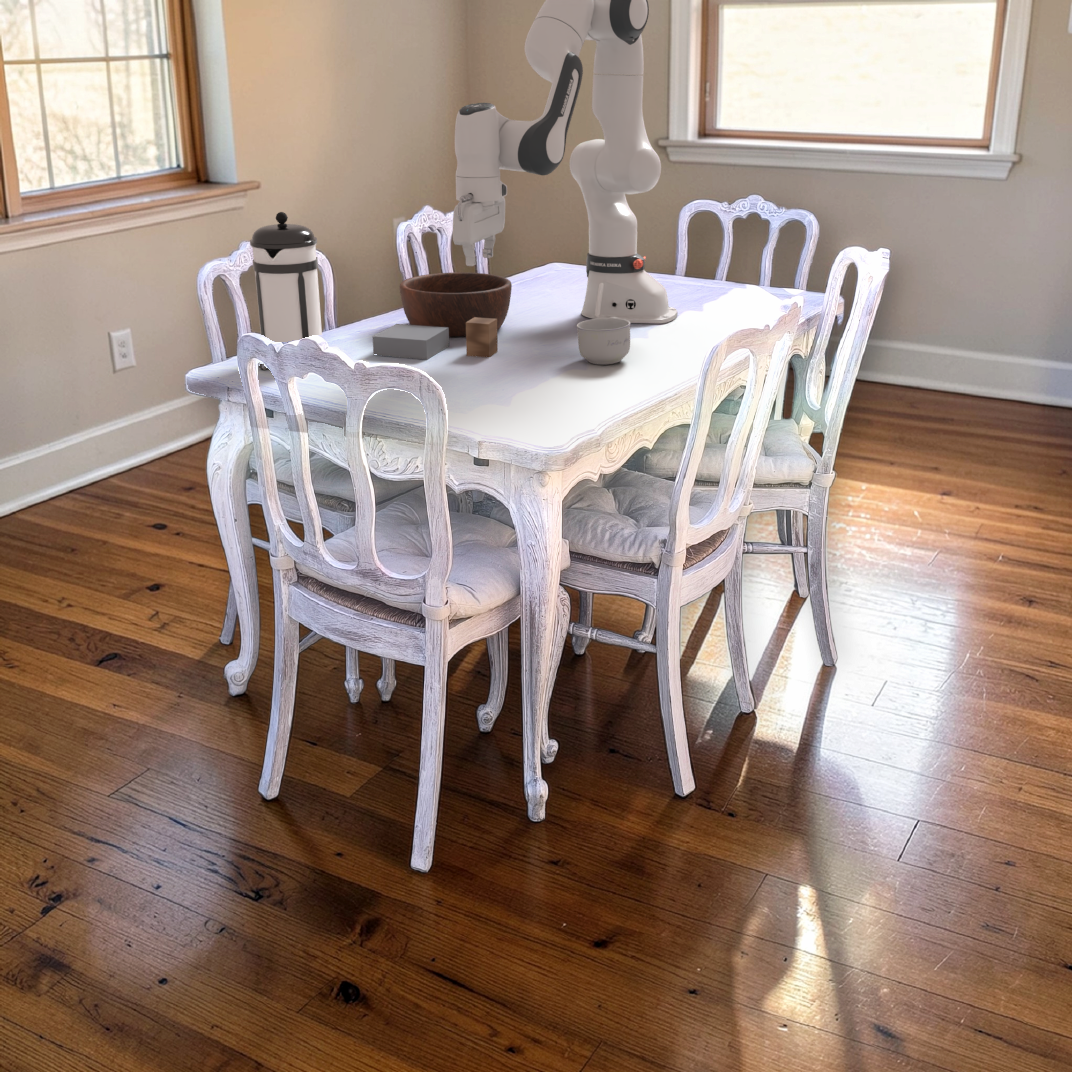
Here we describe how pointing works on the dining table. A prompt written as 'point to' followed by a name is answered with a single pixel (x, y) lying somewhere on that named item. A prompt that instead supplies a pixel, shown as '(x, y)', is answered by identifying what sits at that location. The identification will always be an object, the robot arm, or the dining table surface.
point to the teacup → (604, 340)
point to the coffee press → (286, 281)
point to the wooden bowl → (455, 299)
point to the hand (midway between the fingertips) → (479, 261)
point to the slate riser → (411, 341)
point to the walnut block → (481, 337)
